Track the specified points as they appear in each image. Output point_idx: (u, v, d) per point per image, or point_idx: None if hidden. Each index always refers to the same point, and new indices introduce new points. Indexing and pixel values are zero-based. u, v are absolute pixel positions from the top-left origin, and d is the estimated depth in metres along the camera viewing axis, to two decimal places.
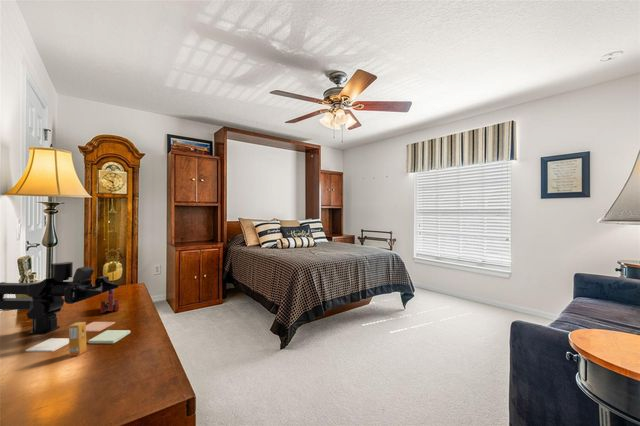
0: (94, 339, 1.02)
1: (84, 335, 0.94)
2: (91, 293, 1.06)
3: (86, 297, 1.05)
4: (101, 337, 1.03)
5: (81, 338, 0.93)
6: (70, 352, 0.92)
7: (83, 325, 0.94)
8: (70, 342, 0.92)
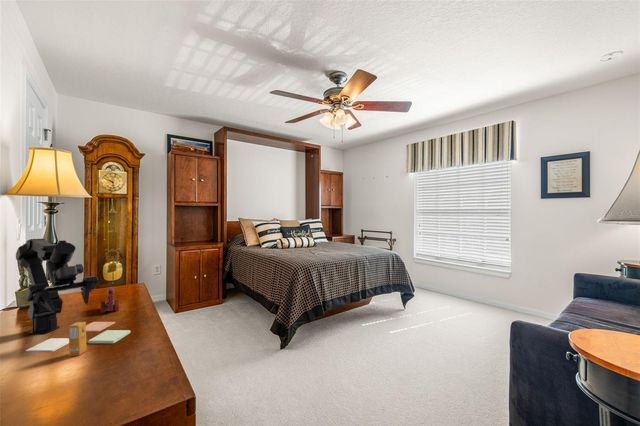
0: (94, 339, 1.02)
1: (84, 335, 0.94)
2: (46, 305, 0.94)
3: (43, 304, 0.95)
4: (101, 337, 1.03)
5: (81, 338, 0.93)
6: (70, 352, 0.92)
7: (83, 325, 0.94)
8: (70, 342, 0.92)
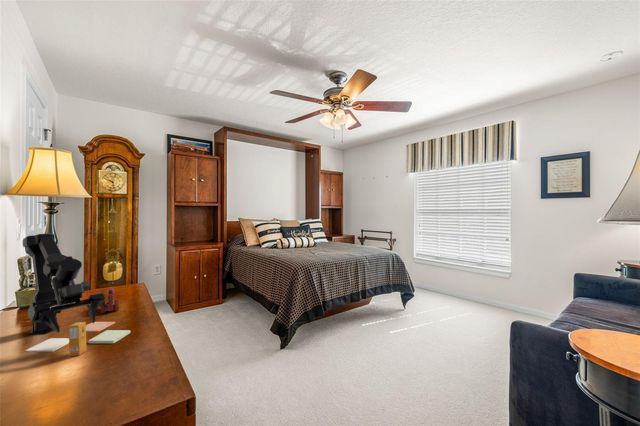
0: (94, 339, 1.02)
1: (84, 335, 0.94)
2: (52, 325, 0.90)
3: (48, 324, 0.91)
4: (101, 337, 1.03)
5: (81, 338, 0.93)
6: (70, 352, 0.92)
7: (83, 325, 0.94)
8: (70, 342, 0.92)
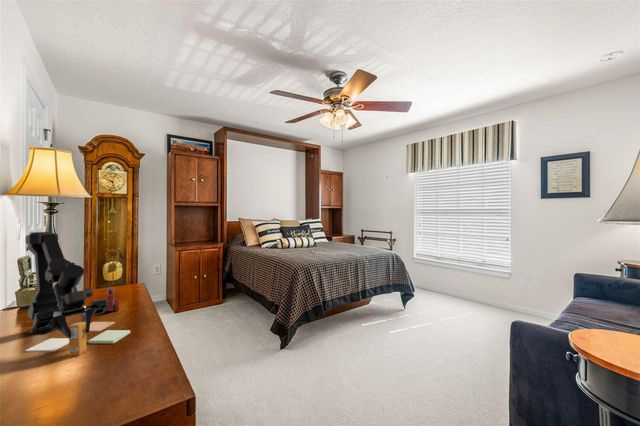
0: (94, 339, 1.02)
1: (84, 335, 0.94)
2: (63, 331, 0.91)
3: (59, 329, 0.92)
4: (101, 337, 1.03)
5: (81, 338, 0.93)
6: (70, 352, 0.92)
7: (83, 325, 0.94)
8: (70, 342, 0.92)
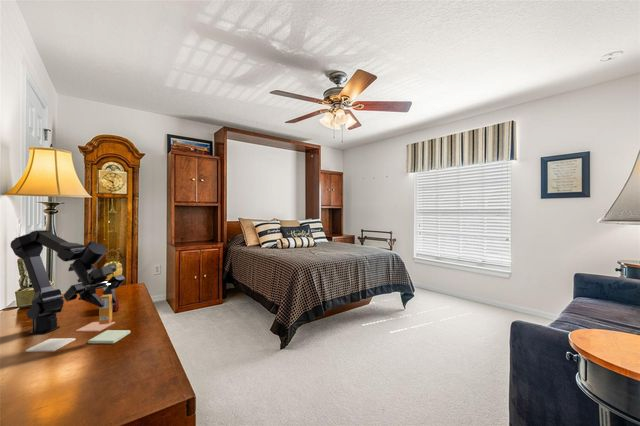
0: (94, 339, 1.02)
1: (111, 306, 1.04)
2: (95, 301, 1.00)
3: (89, 301, 1.00)
4: (101, 337, 1.03)
5: (110, 308, 1.03)
6: (100, 321, 1.01)
7: (111, 297, 1.04)
8: (100, 312, 1.01)
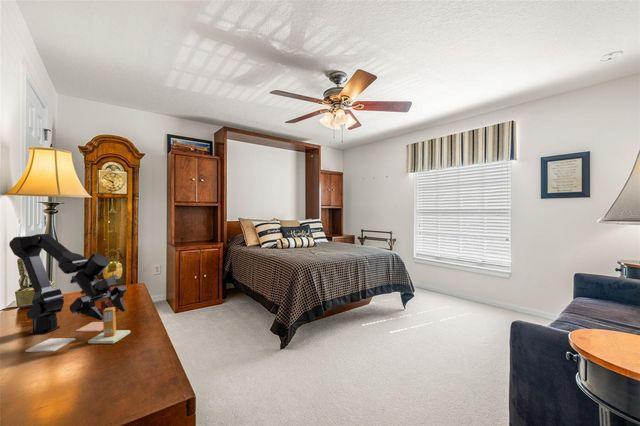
0: (94, 339, 1.02)
1: (115, 318, 1.07)
2: (94, 314, 1.00)
3: (88, 314, 1.00)
4: (101, 337, 1.03)
5: (114, 321, 1.05)
6: (104, 334, 1.03)
7: (114, 310, 1.06)
8: (104, 325, 1.03)
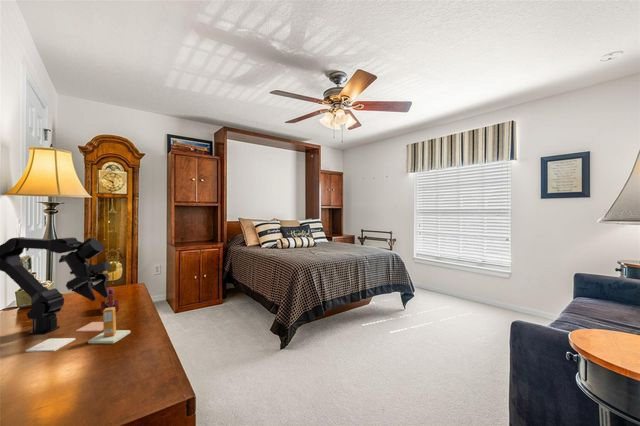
0: (94, 339, 1.02)
1: (115, 318, 1.07)
2: (88, 294, 1.06)
3: (81, 293, 1.05)
4: (101, 337, 1.03)
5: (114, 321, 1.05)
6: (104, 334, 1.03)
7: (114, 310, 1.06)
8: (104, 325, 1.03)
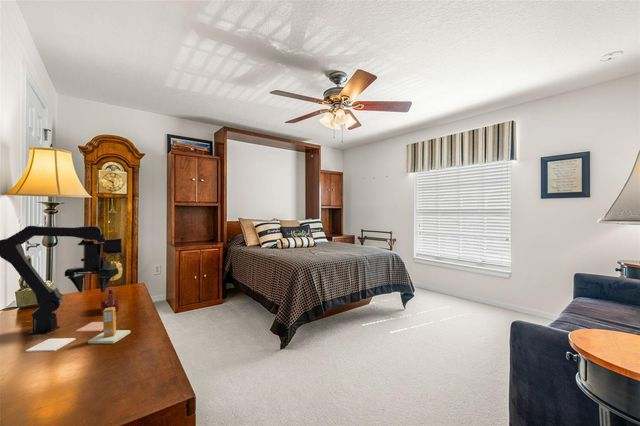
0: (94, 339, 1.02)
1: (115, 318, 1.07)
2: (105, 285, 1.19)
3: (103, 283, 1.18)
4: (101, 337, 1.03)
5: (114, 321, 1.05)
6: (104, 334, 1.03)
7: (114, 310, 1.06)
8: (104, 325, 1.03)
